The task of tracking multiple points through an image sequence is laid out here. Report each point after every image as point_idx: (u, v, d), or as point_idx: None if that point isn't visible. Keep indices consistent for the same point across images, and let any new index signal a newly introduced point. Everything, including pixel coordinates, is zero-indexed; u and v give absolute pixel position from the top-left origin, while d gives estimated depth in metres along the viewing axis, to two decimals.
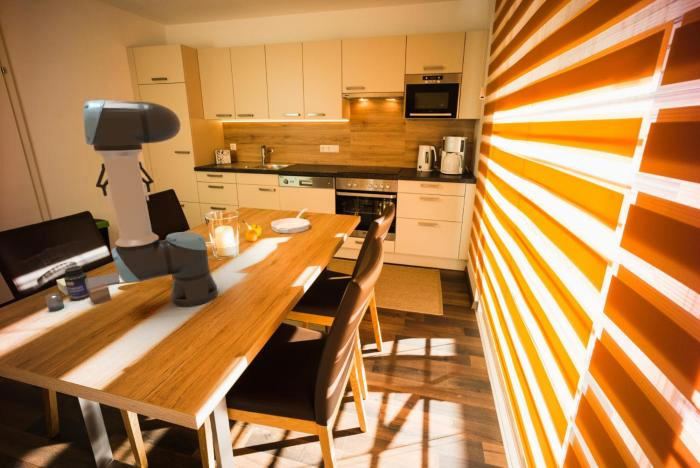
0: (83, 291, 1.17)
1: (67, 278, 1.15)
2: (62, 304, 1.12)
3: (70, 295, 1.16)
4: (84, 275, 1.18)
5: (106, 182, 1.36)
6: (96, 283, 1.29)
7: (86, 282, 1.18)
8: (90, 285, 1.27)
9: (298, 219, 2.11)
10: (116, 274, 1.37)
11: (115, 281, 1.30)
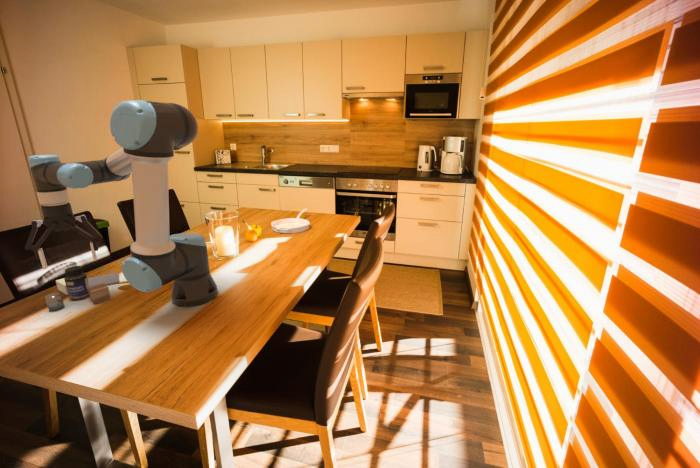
0: (83, 291, 1.17)
1: (67, 278, 1.15)
2: (62, 304, 1.12)
3: (70, 295, 1.16)
4: (84, 275, 1.18)
5: (38, 243, 1.09)
6: (96, 283, 1.29)
7: (86, 282, 1.18)
8: (90, 285, 1.27)
9: (298, 219, 2.11)
10: (116, 274, 1.37)
11: (115, 281, 1.30)
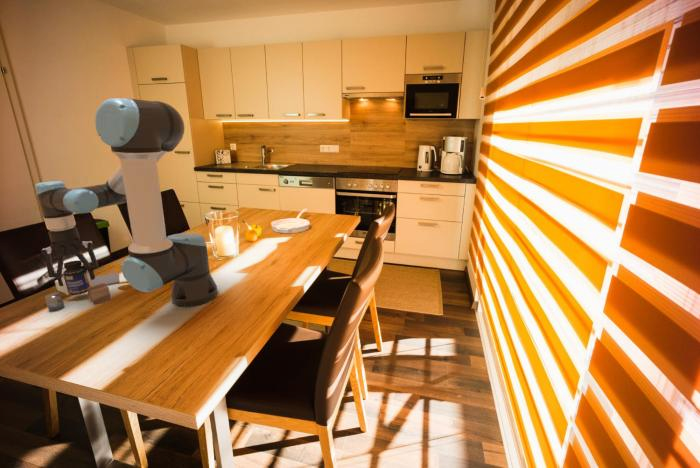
0: (82, 285, 1.16)
1: (66, 272, 1.14)
2: (62, 304, 1.12)
3: (70, 290, 1.15)
4: (83, 269, 1.17)
5: (58, 270, 1.13)
6: (96, 283, 1.29)
7: (85, 276, 1.17)
8: None
9: (298, 219, 2.11)
10: (116, 274, 1.37)
11: (115, 281, 1.30)
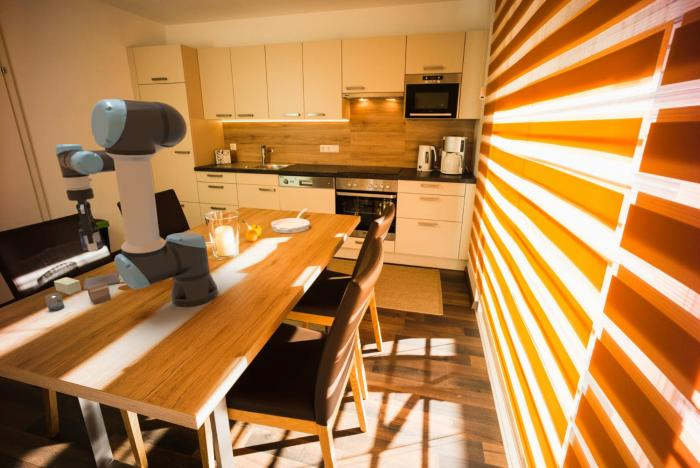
0: (82, 244, 1.24)
1: None
2: (62, 304, 1.12)
3: None
4: None
5: None
6: (96, 283, 1.29)
7: (85, 238, 1.23)
8: (90, 285, 1.27)
9: (298, 219, 2.11)
10: (116, 274, 1.37)
11: (115, 281, 1.30)
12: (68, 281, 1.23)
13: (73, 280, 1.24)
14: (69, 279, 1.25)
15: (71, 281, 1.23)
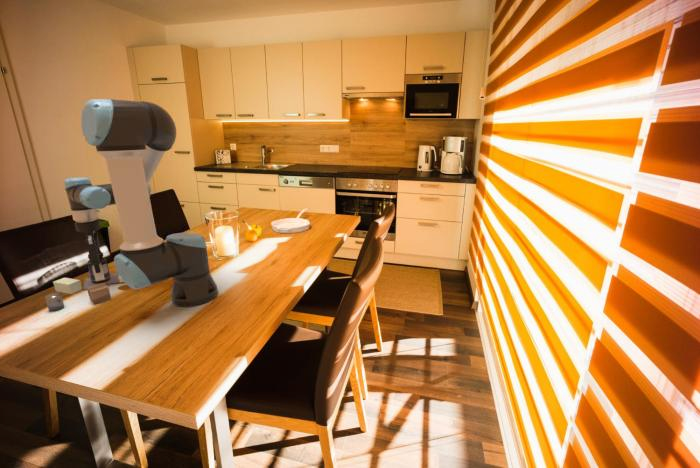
0: (90, 275, 1.28)
1: None
2: (62, 304, 1.12)
3: None
4: None
5: None
6: (96, 283, 1.29)
7: None
8: (90, 285, 1.27)
9: (298, 219, 2.11)
10: (116, 274, 1.37)
11: (115, 281, 1.30)
12: (69, 281, 1.23)
13: (73, 280, 1.24)
14: (69, 279, 1.25)
15: (72, 280, 1.23)
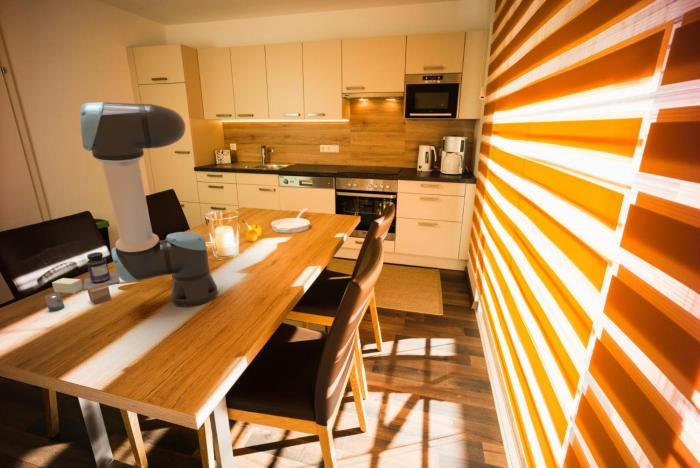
0: (90, 276, 1.28)
1: None
2: (62, 304, 1.12)
3: None
4: (92, 264, 1.26)
5: None
6: (96, 283, 1.29)
7: (93, 270, 1.27)
8: (90, 285, 1.27)
9: (298, 219, 2.11)
10: (116, 274, 1.37)
11: (115, 281, 1.30)
12: (69, 281, 1.23)
13: (74, 279, 1.24)
14: (68, 279, 1.25)
15: (72, 280, 1.24)
